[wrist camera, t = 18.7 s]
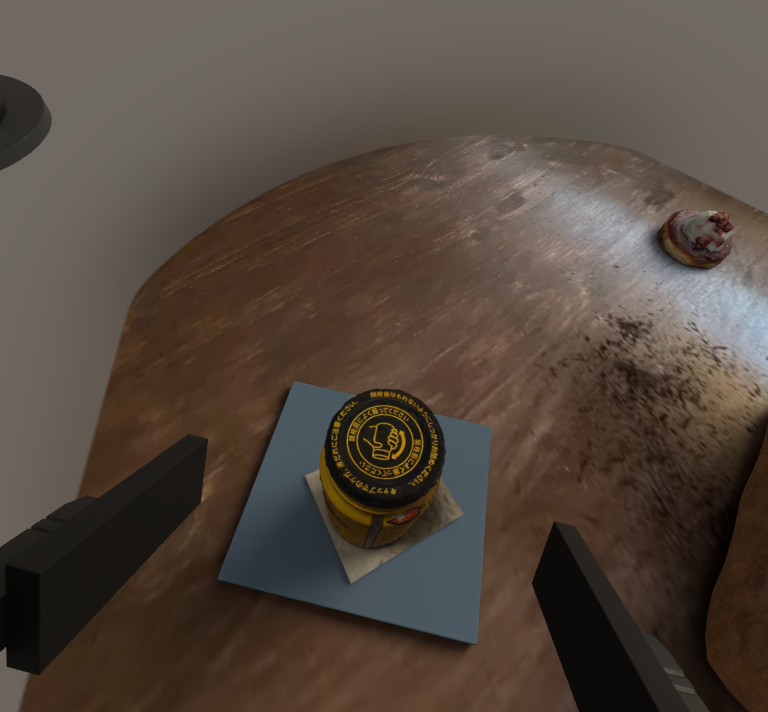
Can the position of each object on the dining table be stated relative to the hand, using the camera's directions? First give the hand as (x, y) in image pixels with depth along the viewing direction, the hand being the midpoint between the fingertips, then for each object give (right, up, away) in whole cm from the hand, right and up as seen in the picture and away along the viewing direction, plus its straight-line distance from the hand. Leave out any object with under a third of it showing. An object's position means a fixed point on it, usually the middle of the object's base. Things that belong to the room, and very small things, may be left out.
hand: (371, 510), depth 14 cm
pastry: (+36, +19, +31) cm, 51 cm away
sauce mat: (0, -4, +13) cm, 14 cm away
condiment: (0, -4, +12) cm, 13 cm away
